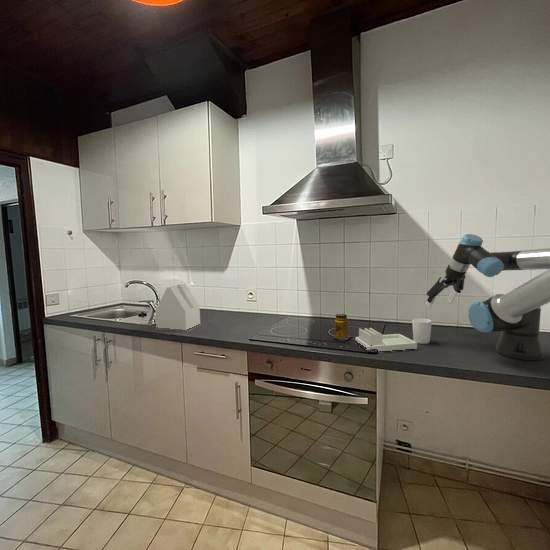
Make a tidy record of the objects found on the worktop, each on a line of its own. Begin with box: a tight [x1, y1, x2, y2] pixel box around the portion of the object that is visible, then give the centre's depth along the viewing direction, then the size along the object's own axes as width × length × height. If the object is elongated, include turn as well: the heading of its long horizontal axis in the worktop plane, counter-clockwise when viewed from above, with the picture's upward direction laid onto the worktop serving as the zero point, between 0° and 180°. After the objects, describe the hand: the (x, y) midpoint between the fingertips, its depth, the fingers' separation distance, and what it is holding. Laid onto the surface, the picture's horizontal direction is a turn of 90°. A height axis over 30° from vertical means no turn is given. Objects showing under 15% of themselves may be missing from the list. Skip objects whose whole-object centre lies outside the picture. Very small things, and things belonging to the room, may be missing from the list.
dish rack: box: [354, 327, 418, 352], centre depth 137 cm, size 14×22×7 cm, turn 98°
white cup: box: [412, 317, 432, 345], centre depth 141 cm, size 8×8×10 cm
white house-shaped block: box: [155, 283, 201, 330], centre depth 179 cm, size 19×15×25 cm
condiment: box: [334, 313, 349, 338], centre depth 149 cm, size 7×8×12 cm
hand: (438, 304), depth 147 cm, fingers open, 13 cm apart
